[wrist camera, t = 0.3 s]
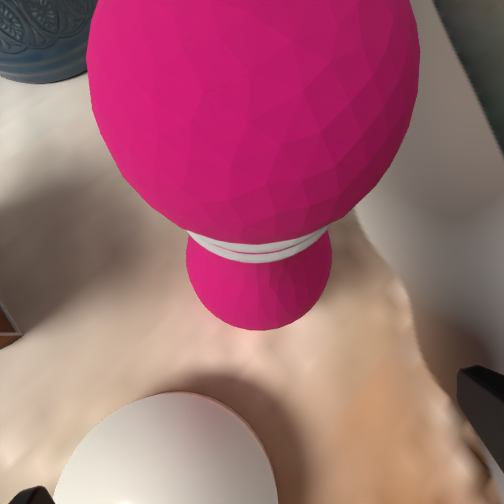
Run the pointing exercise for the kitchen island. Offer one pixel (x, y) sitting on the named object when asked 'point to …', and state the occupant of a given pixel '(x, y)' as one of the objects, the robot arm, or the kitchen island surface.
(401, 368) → the kitchen island surface
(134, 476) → the stand
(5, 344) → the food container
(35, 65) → the canister
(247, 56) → the pepper mill
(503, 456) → the robot arm
